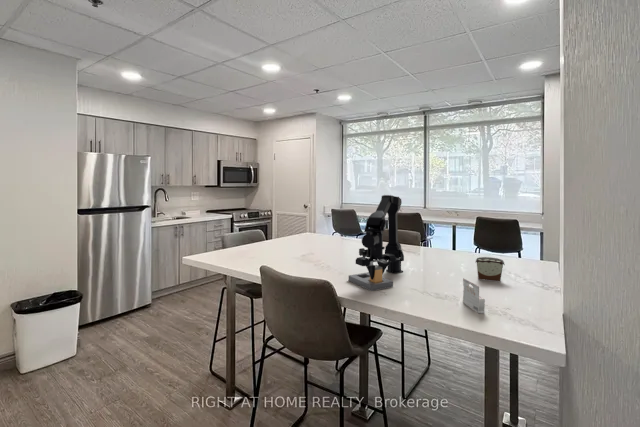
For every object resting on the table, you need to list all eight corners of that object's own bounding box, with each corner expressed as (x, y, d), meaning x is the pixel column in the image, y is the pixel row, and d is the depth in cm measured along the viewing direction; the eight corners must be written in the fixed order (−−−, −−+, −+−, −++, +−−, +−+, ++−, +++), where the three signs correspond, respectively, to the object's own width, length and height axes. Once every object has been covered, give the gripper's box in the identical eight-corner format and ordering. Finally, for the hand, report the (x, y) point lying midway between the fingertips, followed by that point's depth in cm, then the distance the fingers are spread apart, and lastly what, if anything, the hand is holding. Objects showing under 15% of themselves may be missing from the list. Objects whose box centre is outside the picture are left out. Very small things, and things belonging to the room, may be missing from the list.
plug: (376, 282, 151) (376, 264, 151) (382, 284, 148) (382, 266, 147) (369, 283, 149) (369, 266, 149) (375, 285, 146) (375, 267, 145)
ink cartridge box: (468, 302, 127) (469, 277, 126) (484, 313, 116) (485, 286, 115) (462, 302, 127) (462, 277, 126) (478, 313, 116) (479, 286, 115)
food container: (502, 278, 158) (503, 258, 158) (504, 282, 153) (504, 260, 152) (474, 275, 164) (475, 256, 163) (474, 279, 158) (475, 258, 157)
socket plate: (368, 277, 163) (368, 272, 163) (392, 286, 147) (393, 281, 147) (348, 280, 158) (348, 275, 157) (371, 291, 142) (371, 285, 142)
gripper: (381, 239, 158) (381, 271, 160) (348, 243, 150) (348, 277, 151) (397, 243, 149) (396, 277, 150) (363, 247, 140) (362, 283, 141)
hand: (376, 278), depth 148 cm, fingers closed on plug, 4 cm apart
